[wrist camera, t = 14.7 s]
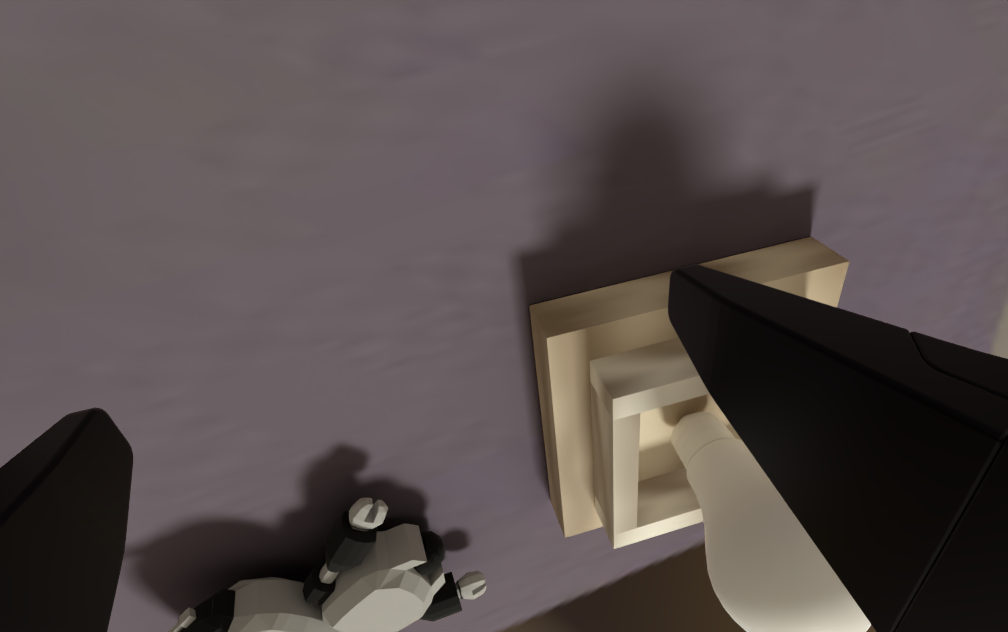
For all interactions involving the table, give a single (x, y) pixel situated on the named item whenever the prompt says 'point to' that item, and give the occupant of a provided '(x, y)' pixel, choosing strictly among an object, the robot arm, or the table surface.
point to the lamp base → (639, 392)
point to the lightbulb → (758, 540)
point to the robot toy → (346, 585)
